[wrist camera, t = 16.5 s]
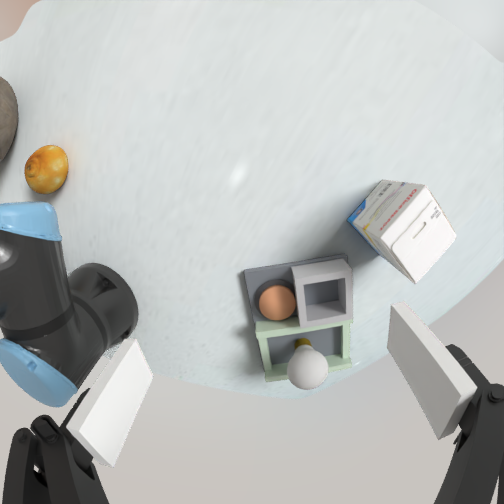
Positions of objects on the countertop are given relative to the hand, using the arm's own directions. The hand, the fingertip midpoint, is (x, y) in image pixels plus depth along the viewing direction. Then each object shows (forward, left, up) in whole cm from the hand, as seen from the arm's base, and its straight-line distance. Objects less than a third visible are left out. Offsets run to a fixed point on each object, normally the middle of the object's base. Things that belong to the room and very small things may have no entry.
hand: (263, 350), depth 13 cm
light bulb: (+3, -19, -26) cm, 32 cm away
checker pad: (+1, -10, -25) cm, 27 cm away
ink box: (+18, -1, -27) cm, 32 cm away
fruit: (-32, +17, -27) cm, 45 cm away
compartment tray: (+4, -15, -27) cm, 31 cm away
